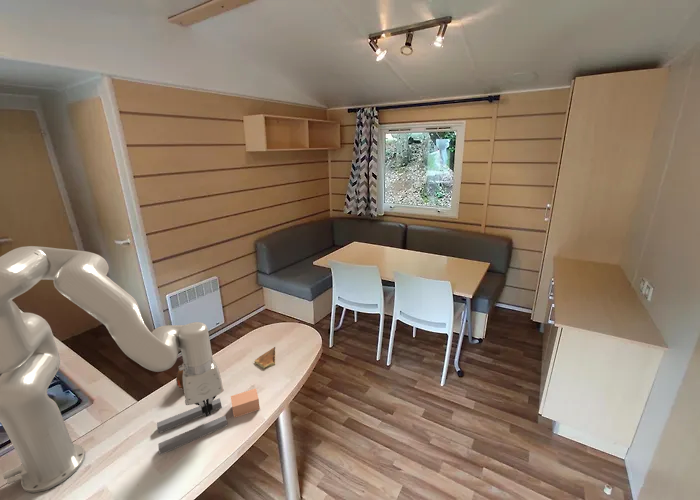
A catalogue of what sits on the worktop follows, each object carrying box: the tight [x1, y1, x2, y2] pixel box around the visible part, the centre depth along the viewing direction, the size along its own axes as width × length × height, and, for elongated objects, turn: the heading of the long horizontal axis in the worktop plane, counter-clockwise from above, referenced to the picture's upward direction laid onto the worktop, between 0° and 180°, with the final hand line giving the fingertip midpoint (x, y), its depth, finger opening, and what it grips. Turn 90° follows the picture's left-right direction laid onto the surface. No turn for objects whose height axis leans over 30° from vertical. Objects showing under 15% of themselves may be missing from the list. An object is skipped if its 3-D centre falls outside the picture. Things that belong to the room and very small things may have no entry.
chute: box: [156, 397, 228, 456], centre depth 97 cm, size 18×10×2 cm, turn 122°
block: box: [230, 387, 261, 418], centre depth 103 cm, size 8×5×4 cm, turn 115°
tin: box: [175, 369, 184, 390], centre depth 115 cm, size 15×3×8 cm, turn 175°
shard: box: [253, 346, 276, 369], centre depth 127 cm, size 11×8×2 cm
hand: (207, 412), depth 99 cm, fingers closed
